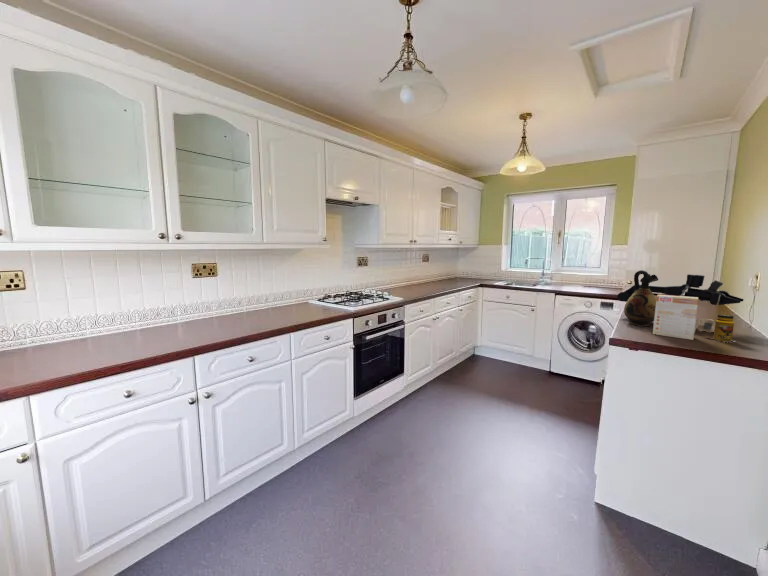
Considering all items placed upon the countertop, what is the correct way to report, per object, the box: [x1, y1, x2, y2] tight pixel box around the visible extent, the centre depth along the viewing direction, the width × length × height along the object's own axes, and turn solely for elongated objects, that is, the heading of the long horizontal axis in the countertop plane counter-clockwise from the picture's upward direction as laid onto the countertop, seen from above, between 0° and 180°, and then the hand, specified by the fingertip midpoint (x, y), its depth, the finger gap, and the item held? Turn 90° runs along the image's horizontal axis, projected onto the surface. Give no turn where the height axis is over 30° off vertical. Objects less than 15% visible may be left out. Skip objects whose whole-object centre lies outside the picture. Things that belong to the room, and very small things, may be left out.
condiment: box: [712, 314, 738, 343], centre depth 155 cm, size 7×8×12 cm
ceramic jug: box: [623, 269, 659, 327], centre depth 186 cm, size 17×15×30 cm
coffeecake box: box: [652, 293, 699, 341], centre depth 161 cm, size 15×7×20 cm, turn 47°
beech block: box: [697, 318, 716, 333], centre depth 173 cm, size 5×5×6 cm
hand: (741, 301), depth 167 cm, fingers open, 9 cm apart
